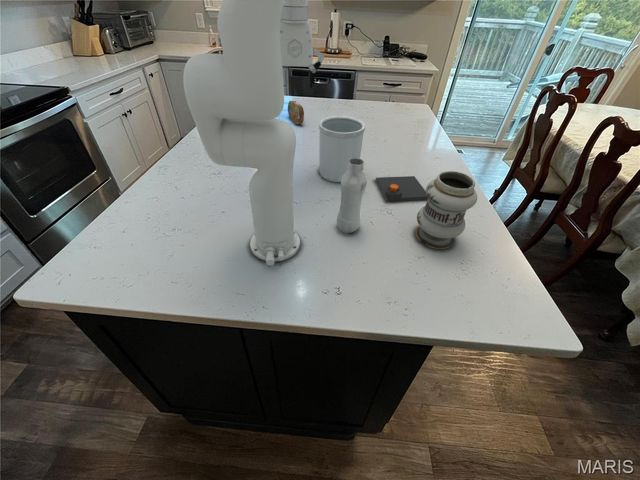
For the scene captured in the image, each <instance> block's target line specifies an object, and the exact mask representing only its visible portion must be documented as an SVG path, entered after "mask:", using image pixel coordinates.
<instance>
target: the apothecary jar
mask: <svg viewBox="0 0 640 480" xmlns="http://www.w3.org/2000/svg"><path fill="white" fill-rule="evenodd" d="M475 187H476V181H475V180H474V178H473V177H471V176H470V175H468V174H466V173H464V172H461V171H455V170H447V171H442V172H440V173H439V174H437V177H436V178H435V179H433V180H431V181H429V183H428V184H427V185H426V188H425V191H426V195H427V197H428V200H426V202H425V205H424V206H423V207H422V208H420V209H419V210H418V212H417V213H416V214H417V215H416V222H417V225H418V227H417V228H416V231H415V236H416V239H417V240H418V241H419V242H420V243H422V244H425V246H426V247H428V248H432V249H434V250H445V249H448V248H450V247H451V246H452V245H453V243H454V238H456V237H458V236H460V235H462V233H464V231H465V230H466V220H465V215H466V212H467V211H468V210H469V209H471V208H473V207H474V206H475V205H476V203H477V202H478V193H477V191H476V189H475Z"/></svg>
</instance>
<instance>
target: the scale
mask: <svg viewBox="0 0 640 480" xmlns="http://www.w3.org/2000/svg"><path fill="white" fill-rule="evenodd" d="M374 181H375V183H376V184H377V187H378V189H379V192H380V193H381V194H382V196H383V198H384V200H385V202H386V203H393V202H394V203H395V202H417V201H418V202H419V201H427V200H428V197H427V195H426V189H425V188H424V187H423V185H422V184H421V183H420V182H419V180H418V179H417V178H416V176H415V175H410V176H409V175H408V176H381V177H380V176H379V177H375V180H374ZM391 184H396V185H398V191H397V192H391V191H389V189H390V185H391Z"/></svg>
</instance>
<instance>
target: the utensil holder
mask: <svg viewBox="0 0 640 480" xmlns="http://www.w3.org/2000/svg"><path fill="white" fill-rule="evenodd" d="M318 130H319V147H318V148H319V149H318V151H319V154H318V155H319V157H318V159H319V161H318V162H319V164H318V166H319V167H318V168H319V175H320V176H321V177H322V178H323V179H325V180H326V181H329V182H333V183H341V179H342V176H343V175H344V174H345V172H346V171H348V163H349V160H350V159H352V158H358V159H361V155H362V148H363V142H364V141H363V138H364V132H365V131H366V124H365V122H364V121H363V120H361V119H359V118H357V117H354V116H349V115H330V116H327V117H326V116H325V117H323V118H322V119H320V120H319V122H318Z"/></svg>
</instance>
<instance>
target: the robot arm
mask: <svg viewBox="0 0 640 480" xmlns="http://www.w3.org/2000/svg"><path fill="white" fill-rule="evenodd" d="M308 6H309V0H222V2H221V4H220V8H219V10H218V14H217V20H216V25H217V26H216V27H217V31H218V36H219V39H220V45H221V50H222V53H208V52H207V53H204V52H203V53H197V54H194V55H192V56H191V57H189V59H187V61H186V63H185V66H184V68H183V77H182V78H183V79H182V80H183V81H182V82H183V83H182V84H183V91H184V96H185V99H186V102H187V103H186V104H187V106H188V109H189V111H190V115H191V117H192V119H193V122H194V125H195V127H196V130H197V132H198V135H199V138H200V140H201V144H202V145H203V148H204V150H205V153H206V155H207V157H208V158H209V159H210V161H212V162H213V163H214V164H216V165H218V166H225V167H235V168H236V167H237V168H249V169H254V170H255V169H256V171H255V172H254V174H253V175H252V176H251V178H250V179H249V182H248V183H249V184H248V196H249V201H250V208H251V215H252V220H253V221H252V223H253V229H254V234H253V235H252V236H251V238H250V241H249V246H250V247H249V248H250V251H251V253H252V255H254V256H255V257H256V258H258V259H260V260H263V261H265V264H266V266H269V267H272V266H274V265H275V262H282V261H285V260H288V259H290V258H291V257H293V256H294V255H296V254H297V253H298V251H299V250H300V246H301V237H300V236H299V235H298V232H296V231H295V229H294V193H293V191H294V187H293V177H294V176H293V174H294V161H295V155H296V149H297V135H296V131H295V129H294V128H293V126H292V125H291V124H290V123H288V122H287V121H285V120H283V119H279V118H278V117H279V116H280V115H281V114H282V112H283V109H284V105H285V82H284V73H283V72H284V71H283V69H284V68H283V67H308V69H309V71H308V87H309V89H313V85H315V73H316V72H317V70H318V69H319V68H320V67H321V65H322V63H323V61H324V59H325V54H324V53H323V52H321V51H320V50H318V49H316V48H315V47H314V46H313V31H312V30H313V29H312V23H311V21H308V19H309V15H308V14H309V7H308ZM313 55H314V56H316V57H317V60H316V61H315V63H313V61H314V60H313V59H314V56H313Z"/></svg>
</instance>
